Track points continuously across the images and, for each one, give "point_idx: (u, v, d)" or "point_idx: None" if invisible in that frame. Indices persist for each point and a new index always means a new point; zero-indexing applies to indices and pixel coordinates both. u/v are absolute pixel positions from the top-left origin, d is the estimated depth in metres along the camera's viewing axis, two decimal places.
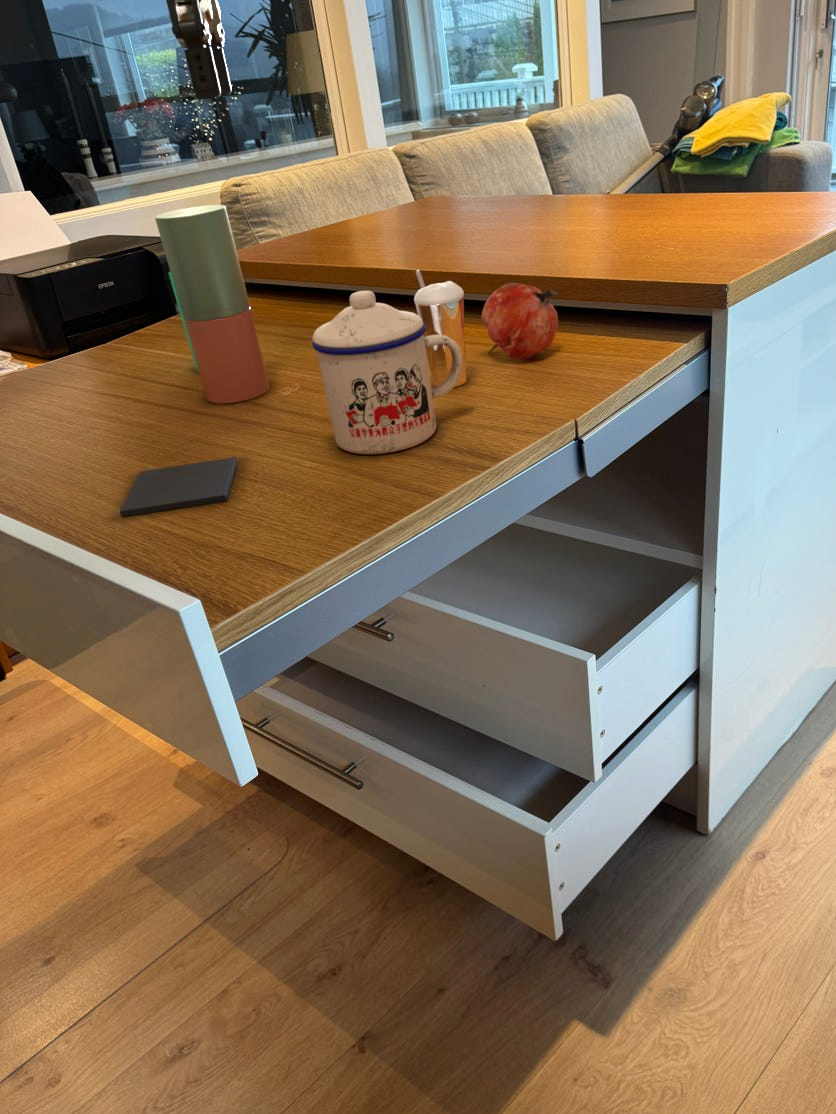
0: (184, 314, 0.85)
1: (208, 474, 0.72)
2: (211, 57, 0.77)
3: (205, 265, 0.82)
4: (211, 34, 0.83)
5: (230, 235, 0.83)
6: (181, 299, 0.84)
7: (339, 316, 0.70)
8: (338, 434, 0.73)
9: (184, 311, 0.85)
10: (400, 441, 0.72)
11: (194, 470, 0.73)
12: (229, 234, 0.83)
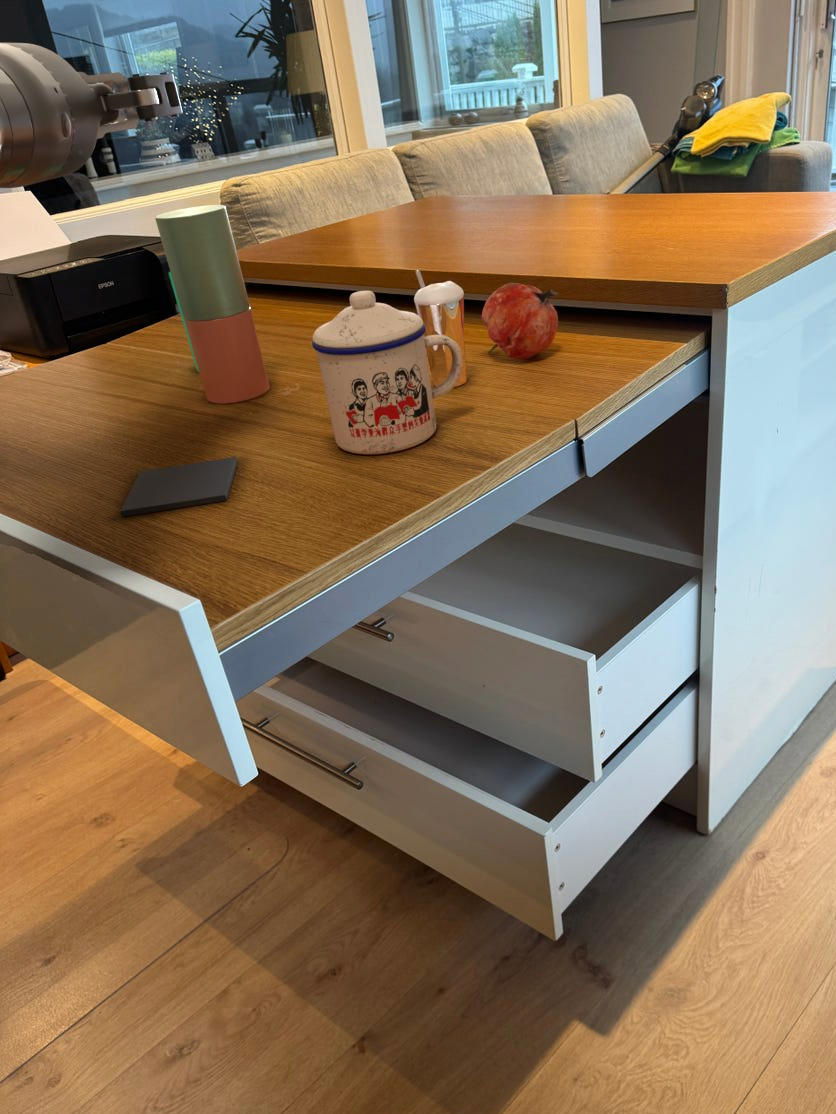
0: (184, 314, 0.85)
1: (208, 474, 0.72)
2: None
3: (205, 265, 0.82)
4: None
5: (230, 235, 0.83)
6: (181, 299, 0.84)
7: (339, 316, 0.70)
8: (338, 434, 0.73)
9: (184, 311, 0.85)
10: (400, 441, 0.72)
11: (194, 470, 0.73)
12: (229, 234, 0.83)
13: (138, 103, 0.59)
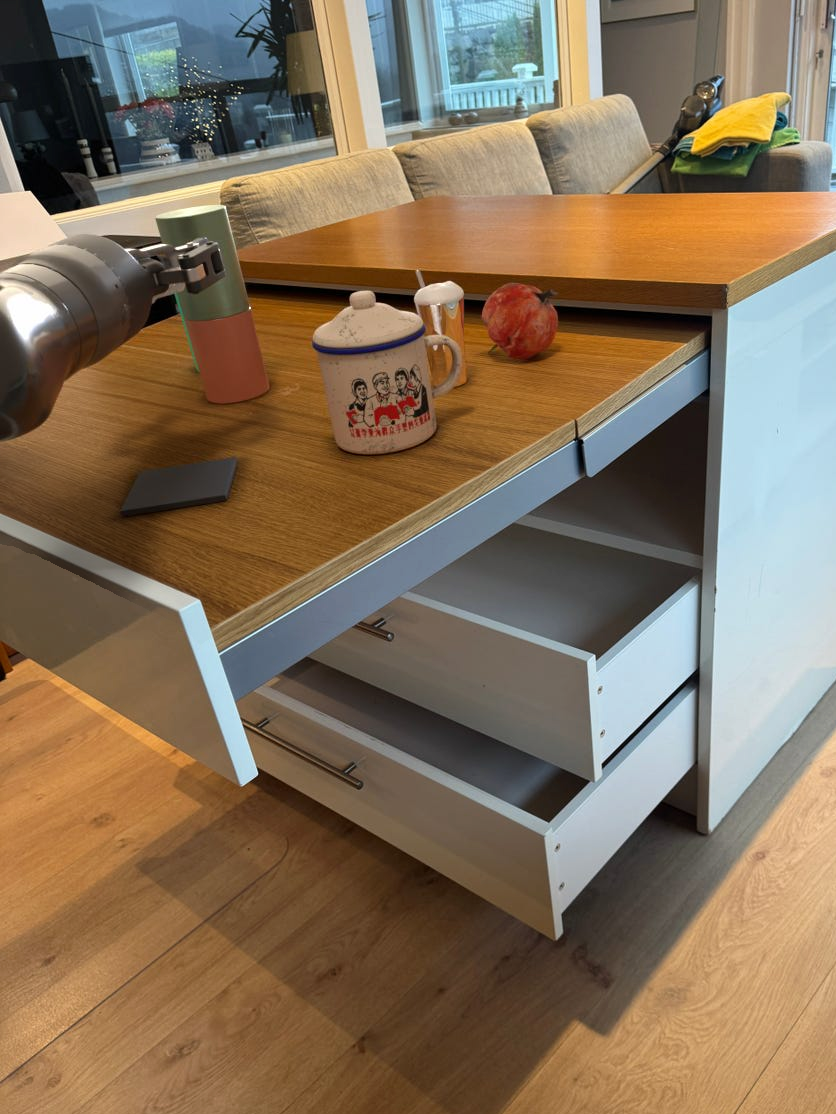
0: (184, 314, 0.85)
1: (208, 474, 0.72)
2: None
3: None
4: None
5: (230, 235, 0.83)
6: (181, 299, 0.84)
7: (339, 316, 0.70)
8: (338, 434, 0.73)
9: (184, 311, 0.85)
10: (400, 441, 0.72)
11: (194, 470, 0.73)
12: (229, 234, 0.83)
13: (187, 280, 0.66)
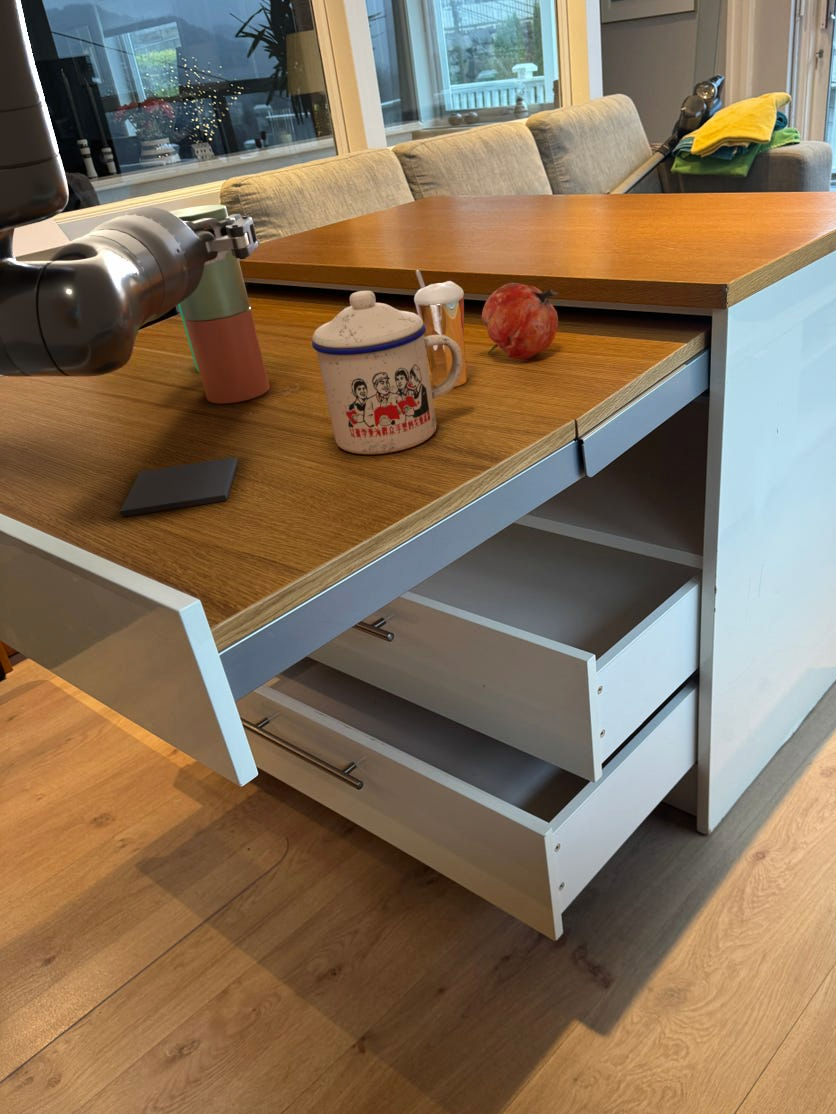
0: (184, 314, 0.85)
1: (208, 474, 0.72)
2: None
3: (206, 265, 0.82)
4: None
5: None
6: None
7: (339, 316, 0.70)
8: (338, 434, 0.73)
9: (184, 310, 0.85)
10: (400, 441, 0.72)
11: (194, 470, 0.73)
12: None
13: (237, 246, 0.76)
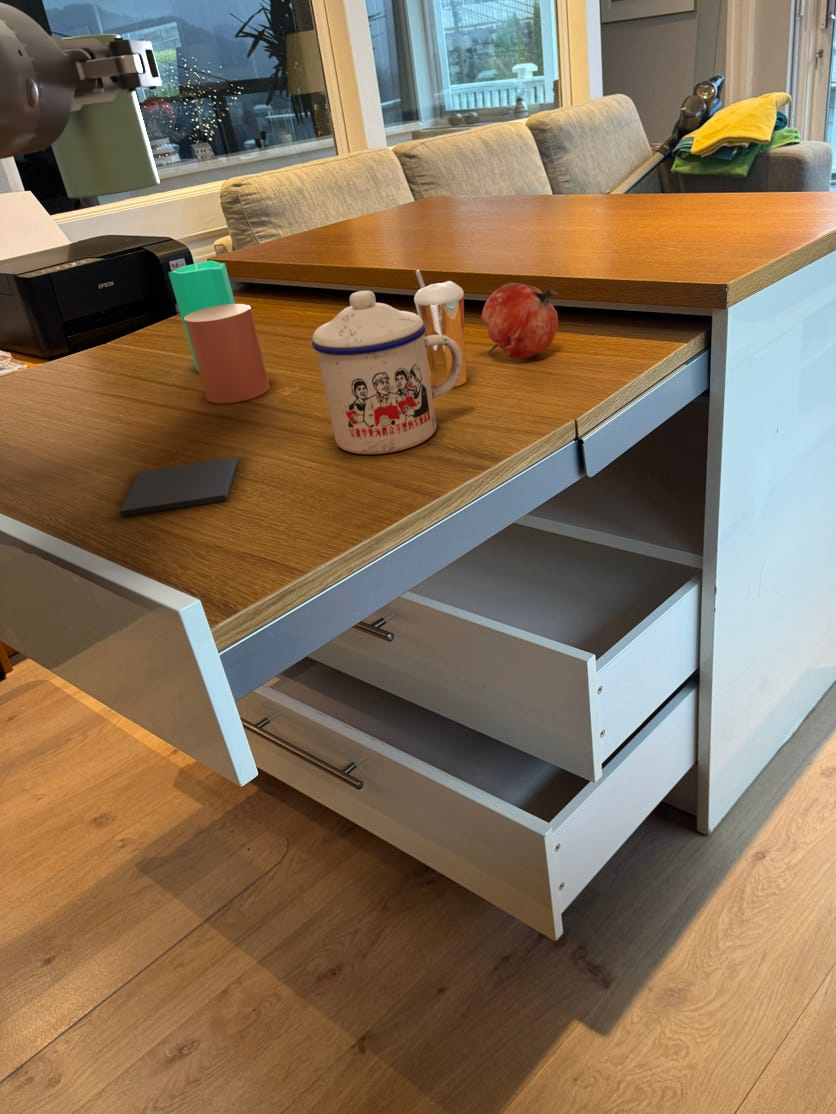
0: (67, 189, 0.63)
1: (208, 474, 0.72)
2: None
3: (90, 114, 0.59)
4: None
5: None
6: (61, 167, 0.62)
7: (339, 316, 0.70)
8: (338, 434, 0.73)
9: (66, 184, 0.62)
10: (400, 441, 0.72)
11: (194, 470, 0.73)
12: None
13: (122, 70, 0.53)
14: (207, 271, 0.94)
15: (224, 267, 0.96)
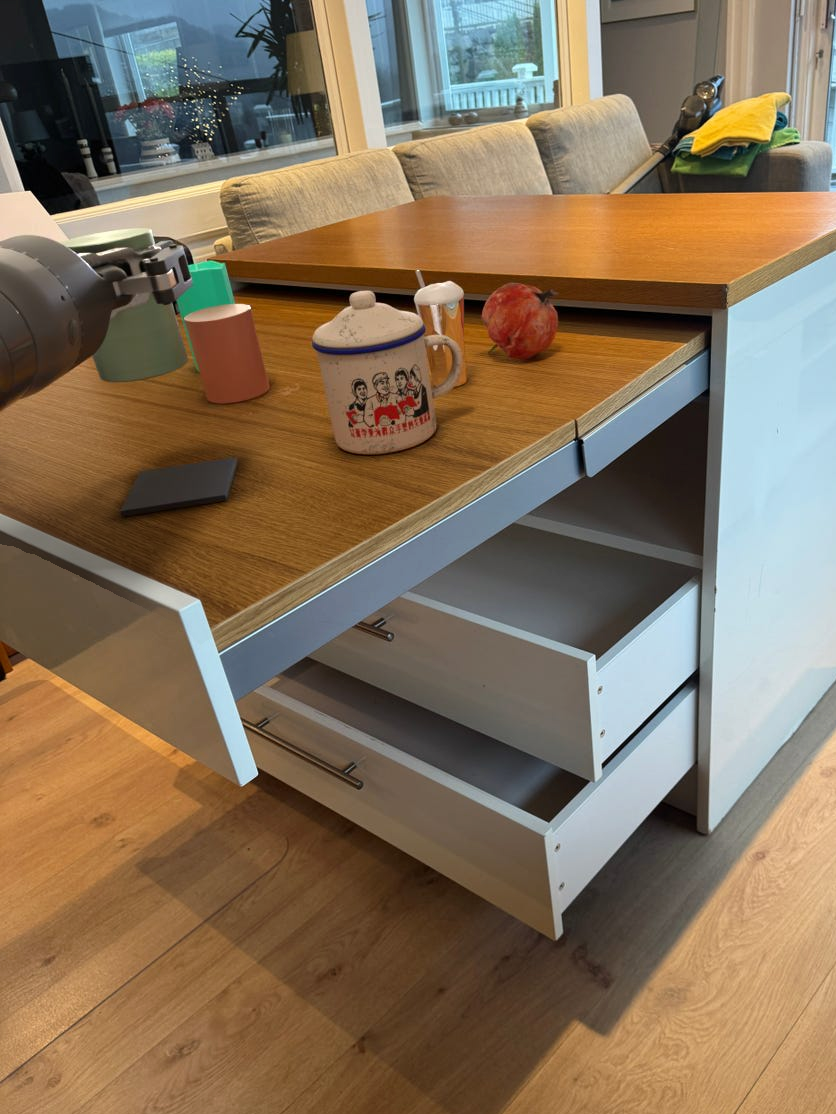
0: (99, 372, 0.64)
1: (208, 474, 0.72)
2: None
3: (123, 310, 0.61)
4: None
5: None
6: None
7: (339, 316, 0.70)
8: (338, 434, 0.73)
9: (98, 368, 0.64)
10: (400, 441, 0.72)
11: (194, 470, 0.73)
12: None
13: (157, 288, 0.55)
14: (207, 271, 0.94)
15: (224, 267, 0.96)
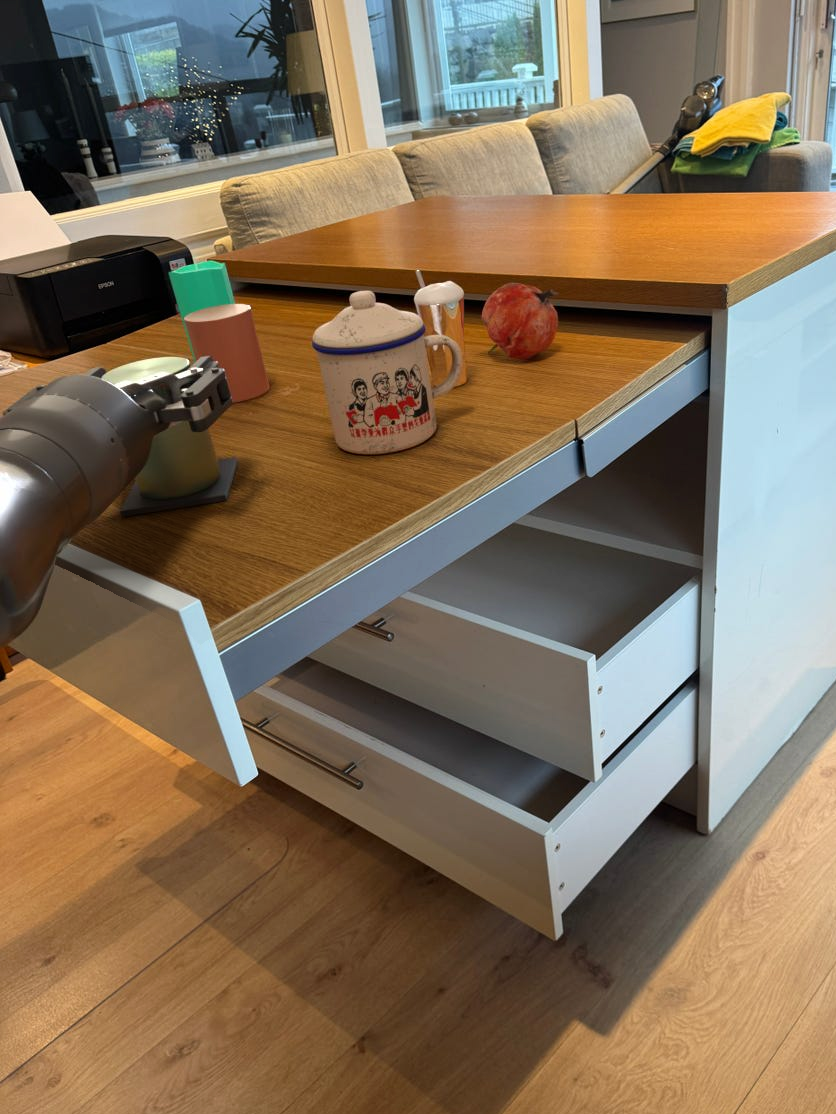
0: (140, 489, 0.69)
1: None
2: None
3: (164, 438, 0.66)
4: None
5: None
6: None
7: (339, 316, 0.70)
8: (338, 434, 0.73)
9: (139, 486, 0.69)
10: (400, 441, 0.72)
11: None
12: None
13: (191, 418, 0.59)
14: (207, 271, 0.94)
15: (224, 267, 0.96)
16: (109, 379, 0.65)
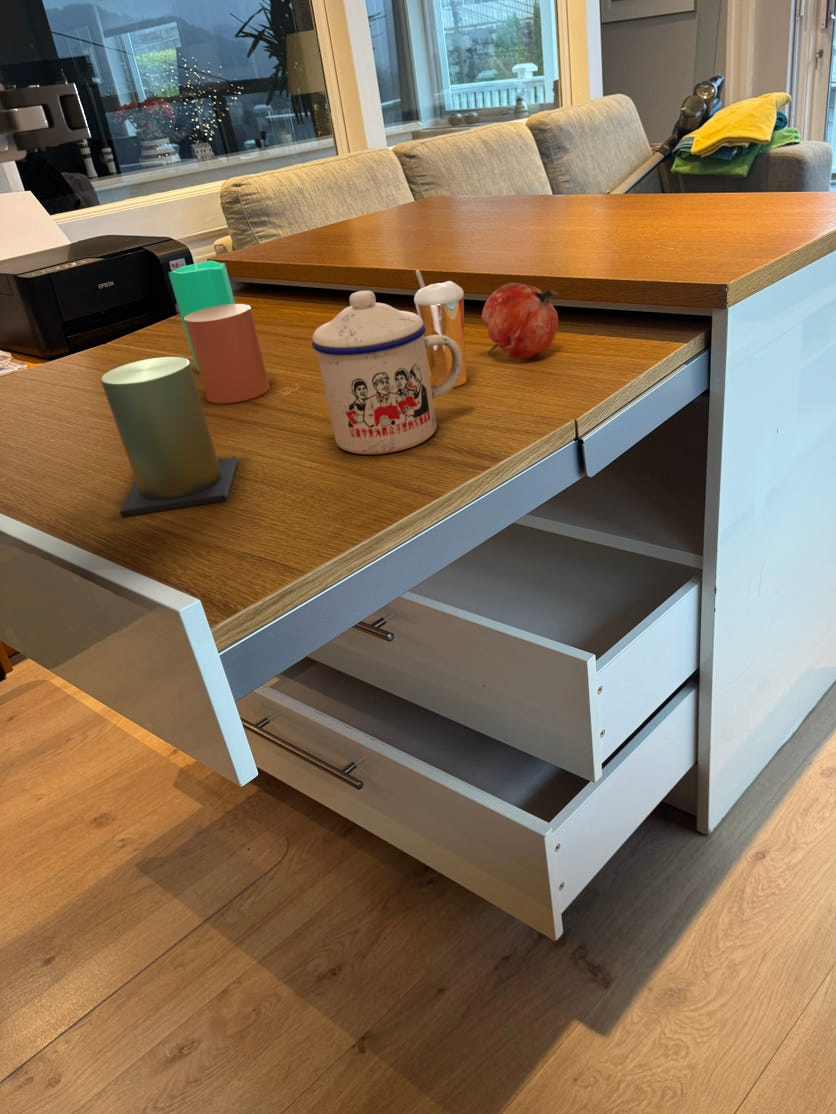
0: (140, 489, 0.69)
1: None
2: None
3: (164, 438, 0.66)
4: None
5: (195, 397, 0.67)
6: (135, 473, 0.68)
7: (339, 316, 0.70)
8: (338, 434, 0.73)
9: (139, 486, 0.69)
10: (400, 441, 0.72)
11: None
12: (194, 396, 0.67)
13: (14, 128, 0.41)
14: (207, 271, 0.94)
15: (224, 267, 0.96)
16: (109, 379, 0.65)
